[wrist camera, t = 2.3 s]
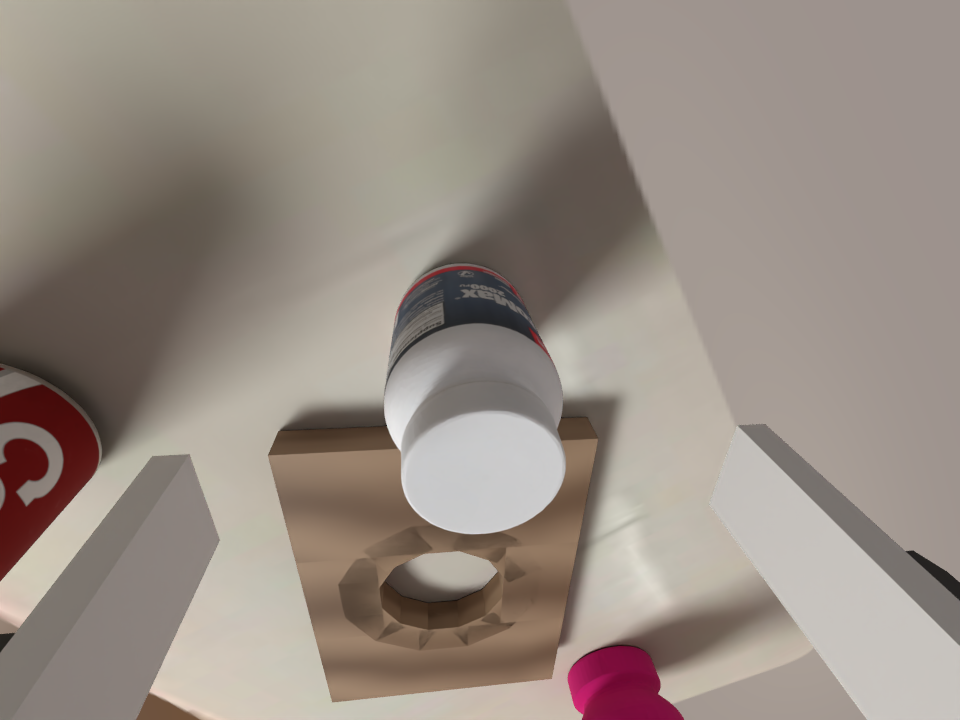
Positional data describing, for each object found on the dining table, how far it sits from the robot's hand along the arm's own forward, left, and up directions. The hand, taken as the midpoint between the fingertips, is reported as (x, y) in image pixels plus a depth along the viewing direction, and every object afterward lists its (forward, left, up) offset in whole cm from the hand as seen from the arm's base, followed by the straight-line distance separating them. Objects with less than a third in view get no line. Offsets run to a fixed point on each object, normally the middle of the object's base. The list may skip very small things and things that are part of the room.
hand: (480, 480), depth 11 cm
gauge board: (+15, -1, -8) cm, 17 cm away
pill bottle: (0, 0, -9) cm, 9 cm away
